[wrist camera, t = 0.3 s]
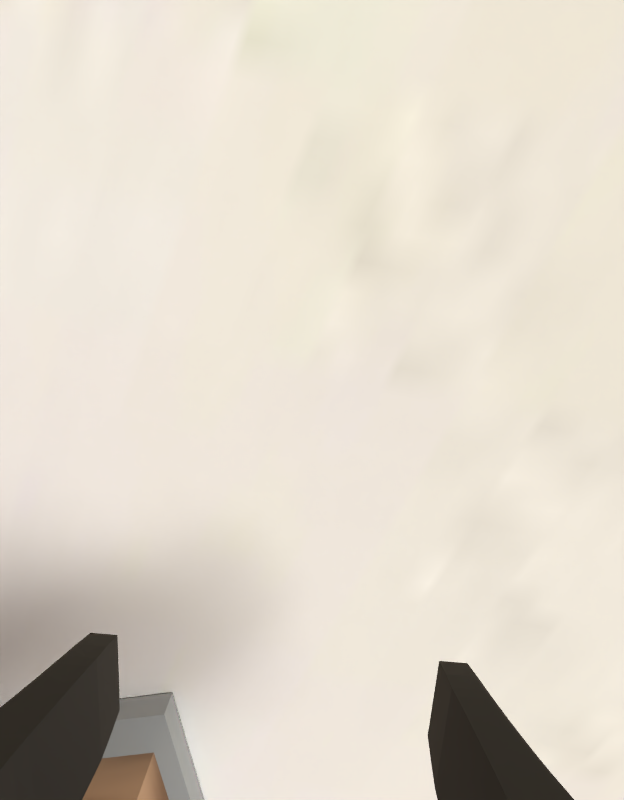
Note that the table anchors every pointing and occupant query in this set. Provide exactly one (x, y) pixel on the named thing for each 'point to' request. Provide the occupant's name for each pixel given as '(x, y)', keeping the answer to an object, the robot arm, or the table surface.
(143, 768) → the walnut block
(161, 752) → the build board
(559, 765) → the table surface
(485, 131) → the table surface
